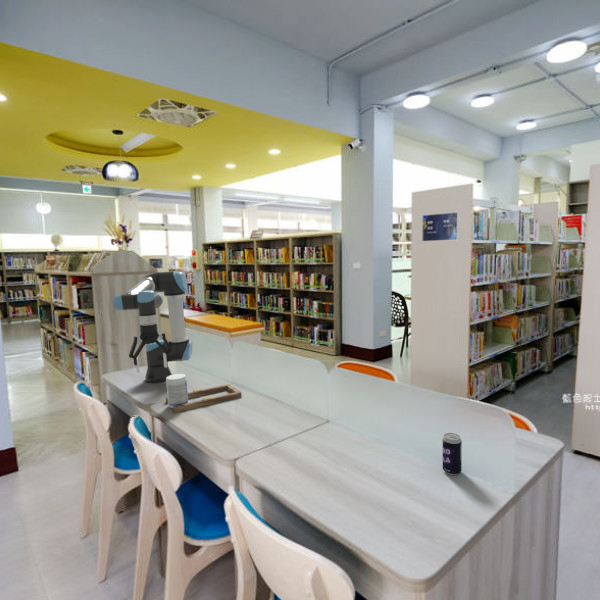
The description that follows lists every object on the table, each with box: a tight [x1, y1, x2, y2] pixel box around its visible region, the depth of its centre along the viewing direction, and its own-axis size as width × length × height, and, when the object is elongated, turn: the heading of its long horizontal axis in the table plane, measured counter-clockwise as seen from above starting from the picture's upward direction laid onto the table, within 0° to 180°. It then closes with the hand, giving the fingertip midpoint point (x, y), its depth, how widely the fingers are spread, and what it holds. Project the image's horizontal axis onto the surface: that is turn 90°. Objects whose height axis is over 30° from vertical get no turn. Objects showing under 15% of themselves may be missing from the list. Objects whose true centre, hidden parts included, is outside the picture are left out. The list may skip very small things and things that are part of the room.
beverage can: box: [442, 432, 463, 476], centre depth 127 cm, size 6×6×12 cm
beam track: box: [165, 383, 243, 413], centre depth 202 cm, size 17×34×3 cm, turn 122°
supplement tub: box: [165, 373, 189, 409], centre depth 194 cm, size 10×10×15 cm
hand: (152, 369), depth 187 cm, fingers open, 12 cm apart
